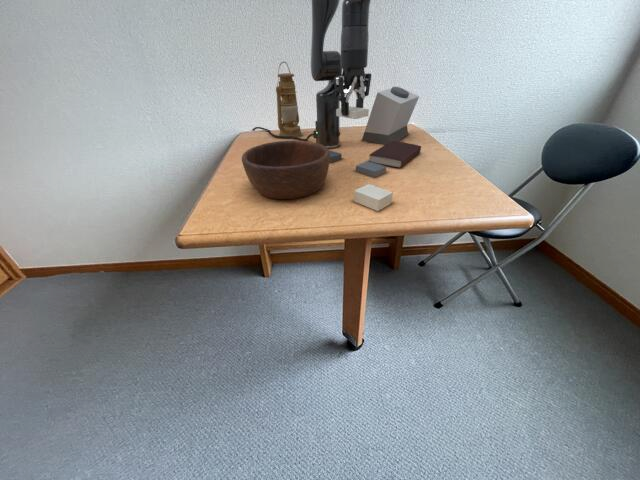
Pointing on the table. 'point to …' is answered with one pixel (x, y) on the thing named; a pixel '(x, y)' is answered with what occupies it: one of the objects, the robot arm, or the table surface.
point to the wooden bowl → (287, 168)
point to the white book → (354, 112)
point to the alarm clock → (390, 115)
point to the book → (394, 154)
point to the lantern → (287, 105)
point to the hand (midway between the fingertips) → (352, 113)
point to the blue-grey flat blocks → (362, 166)
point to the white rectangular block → (373, 197)
